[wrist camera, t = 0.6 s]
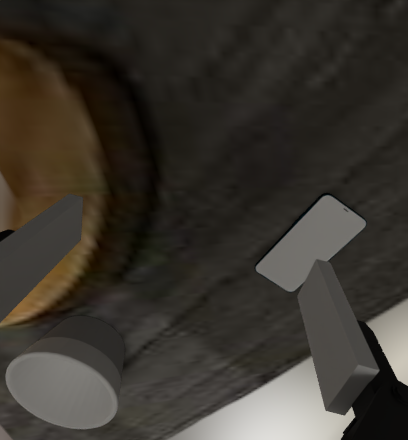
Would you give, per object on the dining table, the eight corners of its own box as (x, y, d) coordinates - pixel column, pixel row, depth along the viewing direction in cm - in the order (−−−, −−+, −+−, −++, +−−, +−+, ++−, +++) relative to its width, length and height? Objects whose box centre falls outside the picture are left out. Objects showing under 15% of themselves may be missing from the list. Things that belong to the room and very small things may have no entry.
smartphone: (290, 290, 49) (368, 220, 42) (291, 294, 48) (370, 223, 41) (251, 265, 47) (324, 188, 40) (251, 268, 47) (326, 191, 40)
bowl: (48, 290, 54) (6, 337, 45) (148, 325, 55) (128, 378, 45) (39, 357, 63) (2, 408, 53) (126, 386, 64) (105, 441, 54)
